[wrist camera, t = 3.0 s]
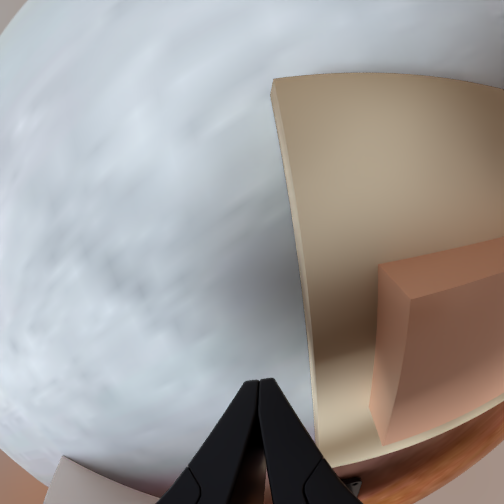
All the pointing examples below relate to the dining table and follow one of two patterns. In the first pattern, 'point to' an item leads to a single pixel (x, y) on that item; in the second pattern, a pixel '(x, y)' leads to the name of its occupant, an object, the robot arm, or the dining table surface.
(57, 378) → the dining table surface
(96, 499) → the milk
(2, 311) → the dining table surface
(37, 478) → the dining table surface
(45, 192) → the dining table surface
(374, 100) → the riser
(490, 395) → the tile
